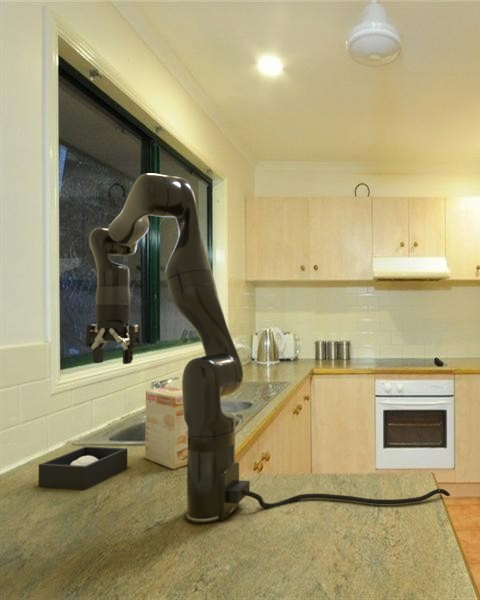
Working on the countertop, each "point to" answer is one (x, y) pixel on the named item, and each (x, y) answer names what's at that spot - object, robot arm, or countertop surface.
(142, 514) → the countertop surface
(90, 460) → the dumpling
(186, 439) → the coffeecake box
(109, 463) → the basin
